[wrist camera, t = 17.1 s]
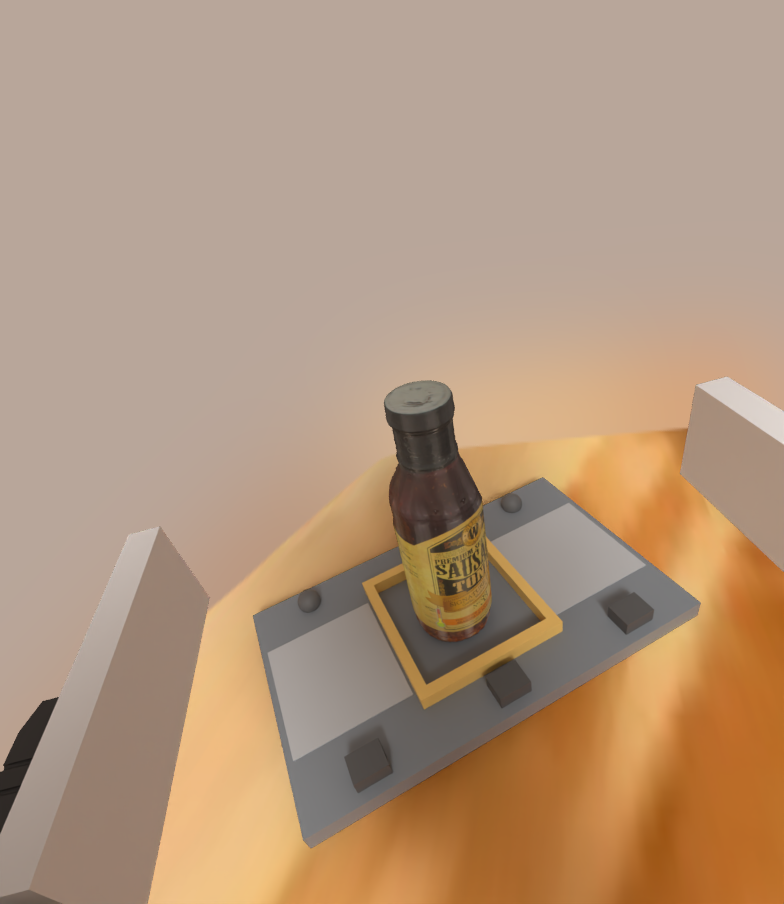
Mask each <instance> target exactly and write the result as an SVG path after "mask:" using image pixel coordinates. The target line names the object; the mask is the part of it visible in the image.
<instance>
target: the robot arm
mask: <svg viewBox="0 0 784 904" xmlns="http://www.w3.org/2000/svg"><path fill="white" fill-rule="evenodd" d="M680 474H681V475H682V476H683V477H684V478H685V479H686V480H687V481H688V482H689V483H690V484H691V485H692V486H694V487H695V488H696V489H697V490H698V491H699V492H700V493H701V494H702V495H703V496H704V497H705V498H706V499H707V500H708V501H709V502H710V503H711V504H713V505H714V506H715V507H716V508H717V509H718V510H719V511H720V512H721V513H722V514H723V515H724V516H725V517H726V518H727V519H728V520H729V521H730V522H732V523H733V524H734V525H735V526H736V527H737V528H738V529H739V530H740V531H741V532H742V533H743V534H744V535H745V536H746V537H747V538H748V539H749V540H751V541H752V542H753V543H754V544H755V545H756V546H757V547H758V548H759V549H760V550H761V551H762V552H763V553H764V554H765V555H766V556H767V557H768V558H770V559H771V560H772V561H773V562H774V563H775V564H776V565H777V566H778V567H779V568H780V569H781V570H782V571H783V572H784V411H783V410H781V409H779V408H778V407H776V406H774V405H773V404H771V403H770V402H768V401H766V400H765V399H763V398H762V397H760V396H758V395H757V394H755V393H753V392H752V391H750V390H748V389H747V388H745V387H743V386H742V385H740V384H739V383H737V382H735V381H734V380H732V379H730V378H729V377H724V378H720V379H716V380H713V381H709V382H705V383H701V384H697V385H696V387H695V393H694V398H693V404H692V409H691V415H690V421H689V426H688V432H687V437H686V443H685V449H684V454H683V460H682V466H681V471H680ZM209 599H210V597H209V596H208V594H207V593H206V591H205V590H204V588H203V587H202V586H201V584H200V583H199V581H198V580H197V578H196V577H195V576H194V575H193V573H192V571H191V570H190V568H189V567H188V566H187V564H186V563H185V561H184V560H183V558H182V557H181V556H180V554H179V553H178V551H177V550H176V548H175V547H174V546H173V545H172V543H171V541H170V540H169V538H168V537H167V536H166V534H165V533H164V532H163V530H162V528H161V527H160V526H159V527H155V528H151V529H147V530H144V531H140V532H136V533H132V534H129V535H128V538H127V540H126V542H125V544H124V547H123V549H122V551H121V554H120V556H119V558H118V561H117V563H116V566H115V568H114V570H113V572H112V575H111V577H110V579H109V582H108V584H107V587H106V589H105V591H104V593H103V596H102V598H101V600H100V603H99V605H98V607H97V610H96V612H95V614H94V617H93V619H92V621H91V624H90V626H89V628H88V631H87V633H86V635H85V638H84V640H83V642H82V645H81V647H80V649H79V652H78V654H77V657H76V659H75V661H74V663H73V666H72V668H71V670H70V673H69V675H68V677H67V680H66V682H65V685H64V687H63V689H62V691H61V694H60V696H59V697H57V698H54V699H50V700H46V701H42V703H41V704H40V705H39V707H38V708H37V709H36V711H35V712H34V713H33V714H32V716H31V717H30V718H29V720H28V721H27V722H26V724H25V725H24V726H23V728H22V729H21V730H20V732H19V733H18V735H17V737H16V739H15V741H14V744H13V746H12V748H11V750H10V752H9V754H8V756H7V759H6V761H5V763H4V765H3V766H4V771H2V772H0V904H148V899H149V894H150V889H151V884H152V879H153V874H154V870H155V865H156V860H157V855H158V850H159V845H160V840H161V835H162V830H163V825H164V820H165V815H166V810H167V805H168V801H169V796H170V791H171V786H172V781H173V776H174V771H175V766H176V761H177V756H178V751H179V746H180V741H181V737H182V732H183V727H184V722H185V717H186V712H187V707H188V702H189V697H190V692H191V687H192V682H193V677H194V672H195V668H196V663H197V658H198V653H199V648H200V643H201V638H202V633H203V628H204V623H205V618H206V613H207V608H208V604H209Z"/></svg>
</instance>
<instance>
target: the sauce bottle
mask: <svg viewBox="0 0 784 904" xmlns="http://www.w3.org/2000/svg"><path fill="white" fill-rule="evenodd" d="M384 407H385V412H386V419H387V422H388V424H389V426H390V427H392V429H393V434H394V441H395V444H396V449H397V454H396V457H397V460H398V462H399V464H398V466H397V467H396V471H395V473H394V476H392V480H391V482H390V486H389V503H390V506H391V510H392V513H393V525H394V529H395V533H396V538H397V542H398V546H399V550H400V554H401V558H402V563H403V567H404V571H405V576H406V580H407V584H408V588H409V593H410V597H411V601H412V605H413V608H414V611H415V613H416V616H417V619H418V621H419V623H420V624H421V626H422V627H423V629H424V630H425V631H426V632H427V633H428V634H429V635H430V636H432V637H434V638H436V639H438V640H441V641H445V642H458V641H462V640H464V639H468V638H470V637H472V636H474V635H476V634H478V632H479V631H480V630H482V629H483V628H484V626H485V624H486V622H487V619H488V616H489V613H490V607H491V602H492V595H491V583H490V573H489V563H488V550H487V542H486V531H485V523H484V513H483V503H482V496H481V495H480V493H479V491H478V489H477V487H476V485H475V483H474V481H473V479H472V477H471V475H470V473H469V471H468V469H467V467H466V465H465V463H464V461H463V459H462V458H461V457H460V455H459V452H458V446H457V443H456V440H455V435H454V427H453V416H454V409H455V407H454V402H453V395H452V392H451V390H450V389H449V388H448V386H446V385H445V384H443V383H441V382H437V381H417V382H412V383H407V384H404V385H402V386H400V387H398V388H396V389H394V390H393V391H392V392H390V393H389V394H388V395H387V396H386V398H385V400H384Z"/></svg>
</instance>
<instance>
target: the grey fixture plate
mask: <svg viewBox="0 0 784 904" xmlns="http://www.w3.org/2000/svg"><path fill="white" fill-rule="evenodd" d="M483 513H484V523H485V531H486V542H487V550H488V563H489V573H490V583H491V595H492V602H491V607H490V613H489V616H488V619H487V622H486V624H485V626H484V628H483V629H482V630H480V631H479V632H478V634H476V635H474V636H472V637H470V638H468V639H464V640H462V641H458V642H445V641H441V640H438V639H436V638H434V637H432V636H430V635H429V634H428V633H427V632H426V631H425V630H424V629H423V627H422V626H421V624H420V623H419V621H418V619H417V616H416V613H415V611H414V608H413V605H412V601H411V597H410V593H409V588H408V584H407V580H406V576H405V571H404V567H403V563H402V558H401V554H400V550H399V546H398V547H396V548H394V549H392V550H389V551H387V552H385V553H383V554H381V555H379V556H377V557H375V558H373V559H371V560H368V561H366V562H364V563H362V564H360V565H358V566H356V567H354V568H352V569H350V570H347V571H345V572H343V573H341V574H339V575H337V576H335V577H333V578H331V579H329V580H326V581H324V582H322V583H320V584H318V585H316V586H314V587H312V588H310V589H307V590H304V591H303V592H301V593H299V594H297V595H295V596H293V597H291V598H289V599H287V600H285V601H282V602H280V603H278V604H276V605H274V606H272V607H270V608H268V609H266V610H264V611H261V612H259V613H257V614H255V615H253V619H254V623H255V627H256V632H257V636H258V641H259V645H260V650H261V654H262V659H263V663H264V668H265V672H266V676H267V681H268V685H269V690H270V694H271V699H272V703H273V708H274V712H275V716H276V721H277V725H278V730H279V734H280V739H281V743H282V748H283V752H284V757H285V761H286V765H287V770H288V774H289V779H290V783H291V788H292V792H293V797H294V801H295V806H296V810H297V814H298V819H299V823H300V828H301V832H302V837H303V841H304V842H305V843H306V844H307V845H308V846H309V847H310V848H313V847H314V846H316V845H318V844H319V843H321V842H323V841H324V840H326V839H328V838H329V837H331V836H333V835H334V834H336V833H338V832H339V831H341V830H343V829H344V828H346V827H347V826H349V825H351V824H352V823H354V822H356V821H357V820H359V819H361V818H362V817H364V816H366V815H367V814H369V813H371V812H372V811H374V810H376V809H377V808H379V807H381V806H382V805H384V804H386V803H387V802H389V801H391V800H392V799H394V798H396V797H397V796H399V795H400V794H402V793H404V792H405V791H407V790H409V789H410V788H412V787H414V786H415V785H417V784H419V783H420V782H422V781H424V780H425V779H427V778H429V777H430V776H432V775H434V774H435V773H437V772H439V771H440V770H442V769H444V768H445V767H447V766H449V765H450V764H452V763H453V762H455V761H457V760H458V759H460V758H462V757H463V756H465V755H467V754H468V753H470V752H472V751H473V750H475V749H477V748H478V747H480V746H482V745H483V744H485V743H487V742H488V741H490V740H492V739H493V738H495V737H497V736H498V735H500V734H502V733H503V732H505V731H506V730H508V729H510V728H511V727H513V726H515V725H516V724H518V723H520V722H521V721H523V720H525V719H526V718H528V717H530V716H531V715H533V714H535V713H536V712H538V711H540V710H541V709H543V708H545V707H546V706H548V705H550V704H551V703H553V702H555V701H556V700H558V699H559V698H561V697H563V696H564V695H566V694H568V693H569V692H571V691H573V690H574V689H576V688H578V687H579V686H581V685H583V684H584V683H586V682H588V681H589V680H591V679H593V678H594V677H596V676H598V675H599V674H601V673H603V672H604V671H606V670H608V669H609V668H611V667H612V666H614V665H616V664H617V663H619V662H621V661H622V660H624V659H626V658H627V657H629V656H631V655H632V654H634V653H636V652H637V651H639V650H641V649H642V648H644V647H646V646H647V645H649V644H651V643H652V642H654V641H656V640H657V639H659V638H661V637H662V636H664V635H666V634H667V633H669V632H670V631H672V630H674V629H675V628H677V627H679V626H680V625H682V624H684V623H685V622H687V621H689V620H690V619H692V618H694V617H695V616H697V615H698V611H699V608H700V604H701V603H700V602H699V601H698V600H697V599H695V598H694V597H693V596H692V595H690V594H689V593H688V592H687V591H685V590H684V589H683V588H682V587H680V586H679V585H678V584H676V583H675V582H674V581H673V580H671V579H670V578H669V577H668V576H666V575H665V574H664V573H663V572H661V571H660V570H659V569H658V568H656V567H655V566H654V565H653V564H651V563H650V562H649V561H648V560H646V559H645V558H644V557H643V556H641V555H640V554H639V553H637V552H636V551H635V550H634V549H632V548H631V547H630V546H629V545H627V544H626V543H625V542H624V541H622V540H621V539H620V538H619V537H617V536H616V535H615V534H614V533H612V532H611V531H610V530H609V529H607V528H606V527H605V526H604V525H602V524H601V523H600V522H599V521H597V520H596V519H595V518H593V517H592V516H591V515H590V514H588V513H587V512H586V511H585V510H583V509H582V508H581V507H580V506H578V505H577V504H576V503H575V502H573V501H572V500H571V499H570V498H568V497H567V496H566V495H565V494H563V493H562V492H561V491H560V490H558V489H557V488H556V487H555V486H553V485H552V484H551V483H549V482H548V481H547V480H546V479H544V478H543V477H542V478H540V479H538V480H536V481H534V482H532V483H530V484H528V485H526V486H524V487H522V488H519V489H517V490H515V491H513V492H511V493H508V494H506V495H504V496H503V497H501V498H498V499H496V500H494V501H492V502H490V503H488V504H486V505H484V506H483Z"/></svg>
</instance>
